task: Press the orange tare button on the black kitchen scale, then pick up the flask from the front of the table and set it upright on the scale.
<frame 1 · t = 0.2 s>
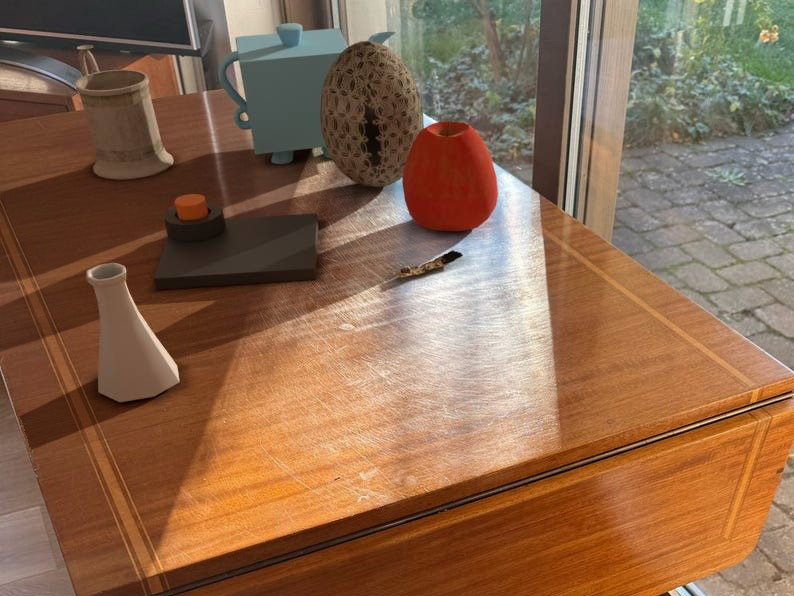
fossil: (429, 270, 101), on the table
decorative egg: (378, 186, 117), on the table
scale: (242, 255, 104), on the table
apple: (451, 225, 109), on the table
mug: (127, 161, 125), on the table
tare button: (191, 208, 105), point 3 cm above the table, slide at 0.1 cm
flask: (140, 383, 86), on the table
teapot: (319, 148, 127), on the table
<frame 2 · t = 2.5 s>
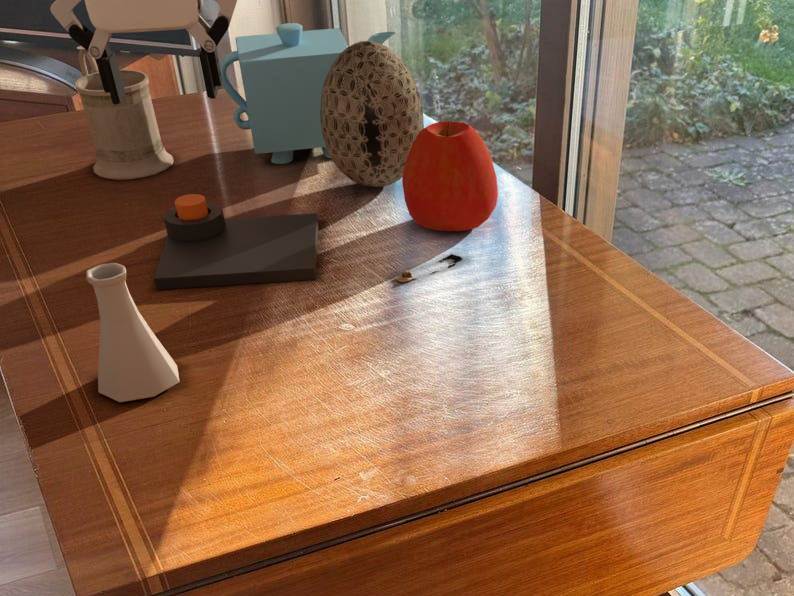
hand: (166, 96, 97), 14 cm above the table, tool pointing down, fingers open, 8 cm apart
nothing on the table moved.
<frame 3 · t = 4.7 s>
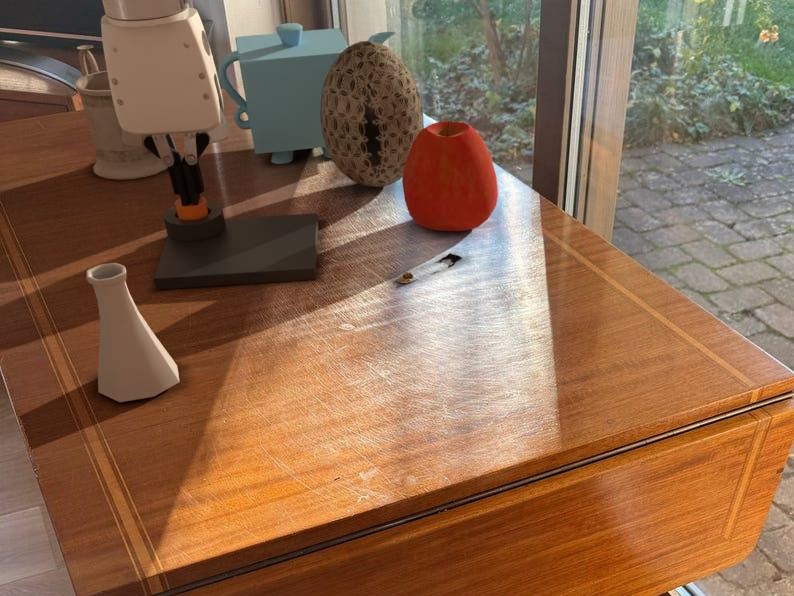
hand: (191, 200, 104), 4 cm above the table, tool pointing down, fingers closed
tare button: (192, 209, 105), point 3 cm above the table, slide at 0.0 cm, touching gripper
everything else where it was.
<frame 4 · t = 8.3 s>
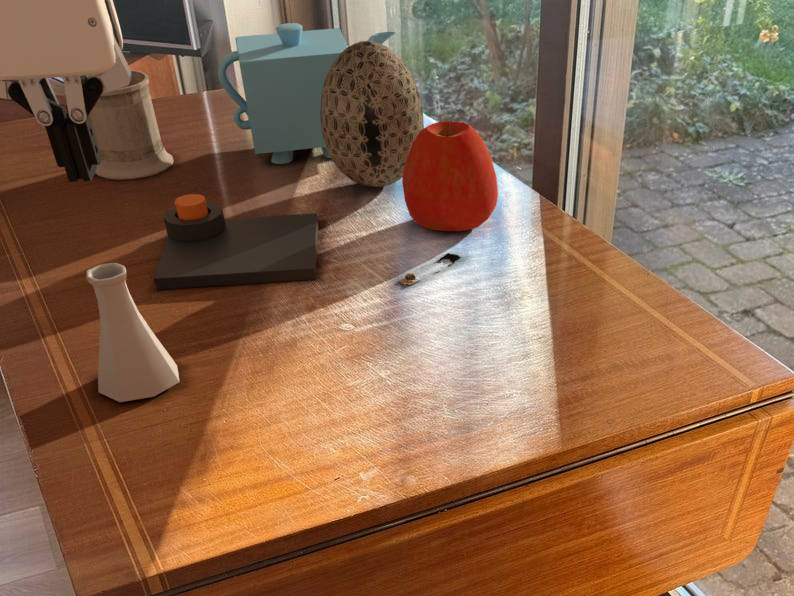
hand: (83, 174, 75), 17 cm above the table, tool pointing down, fingers closed
tare button: (191, 208, 105), point 3 cm above the table, slide at 0.1 cm
everything else where it was.
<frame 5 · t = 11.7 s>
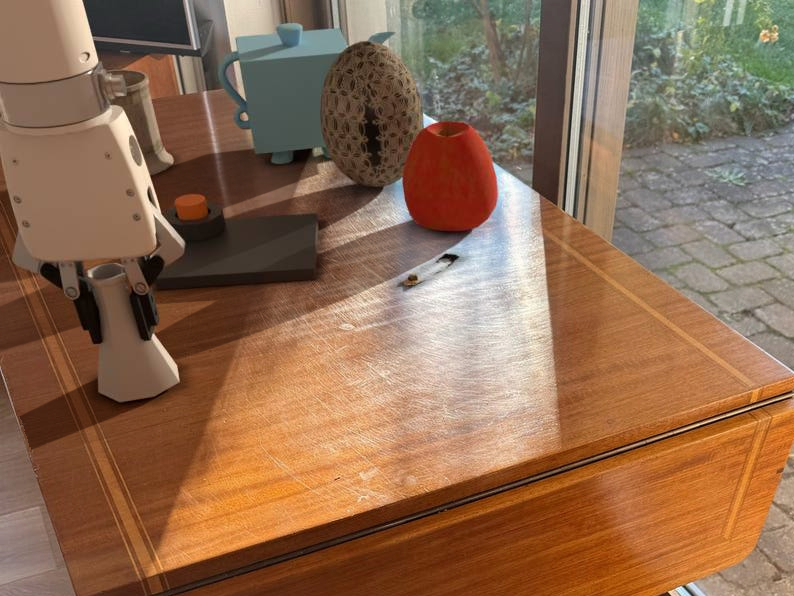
hand: (124, 332, 83), 5 cm above the table, tool pointing down, fingers closed on flask, 3 cm apart
flask: (139, 383, 86), on the table, touching gripper
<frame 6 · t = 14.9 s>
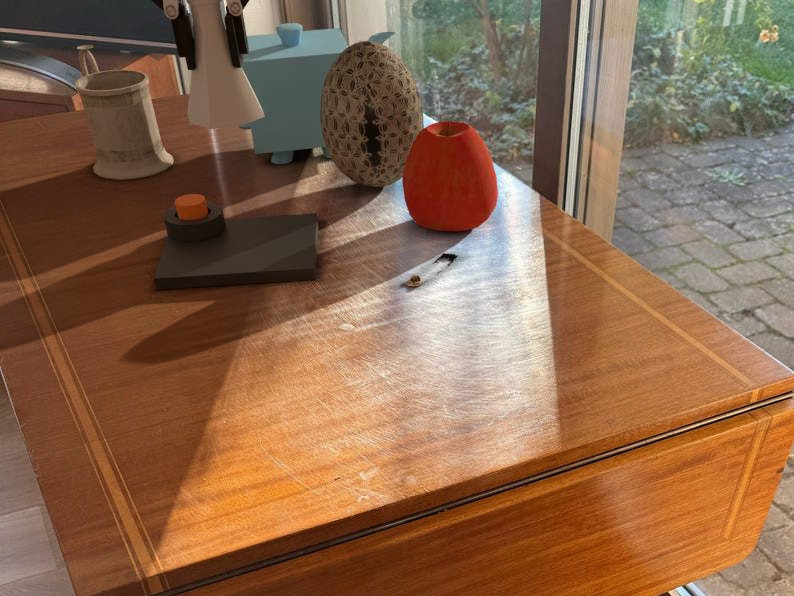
hand: (215, 62, 88), 19 cm above the table, tool pointing down, fingers closed on flask, 3 cm apart
flask: (226, 120, 92), point 14 cm above the table, touching gripper
when the fingers open (6 cm above the table, at t = 18.5 s): flask stays where it is, resting on scale.
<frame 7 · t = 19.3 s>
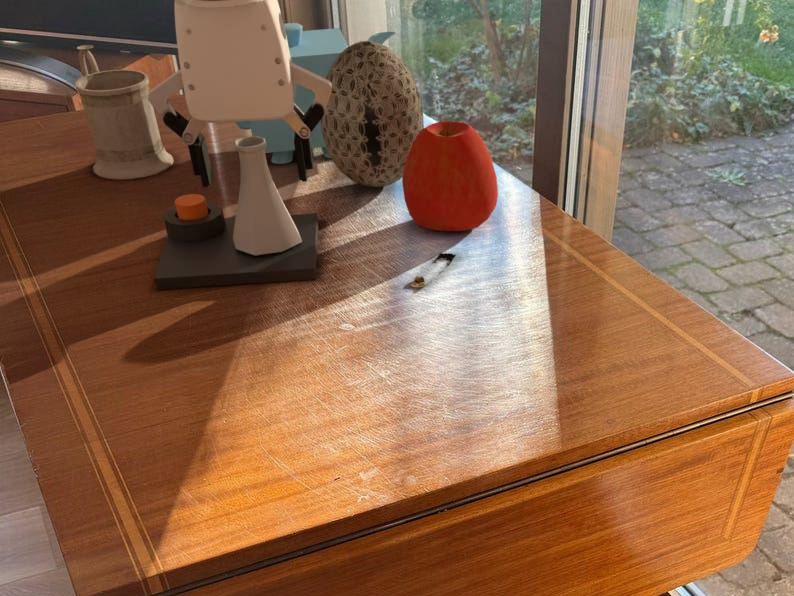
hand: (256, 179, 99), 8 cm above the table, tool pointing down, fingers open, 9 cm apart
flask: (268, 244, 103), point 1 cm above the table, touching scale
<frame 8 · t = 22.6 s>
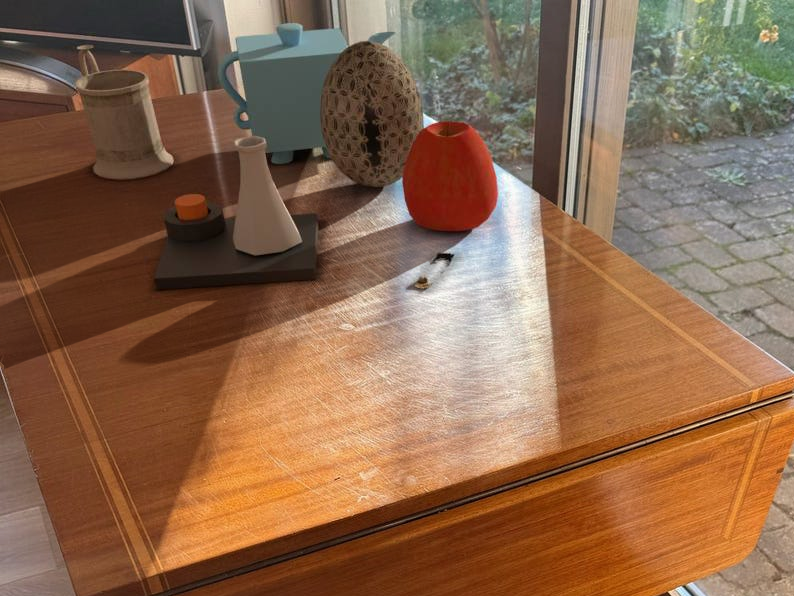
at the end: tare button pushed in 1.1 cm at the most during the clip, back to where it started at the end; flask inside the target area on the scale (0.4 cm from its centre), point 1.0 cm above the scale's base; flask tilted 0° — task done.
